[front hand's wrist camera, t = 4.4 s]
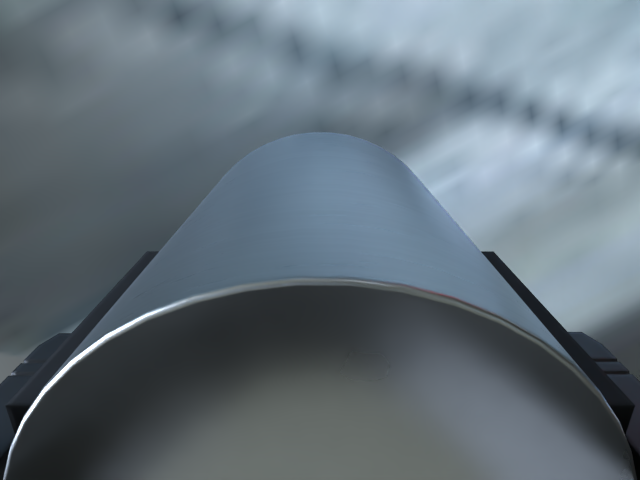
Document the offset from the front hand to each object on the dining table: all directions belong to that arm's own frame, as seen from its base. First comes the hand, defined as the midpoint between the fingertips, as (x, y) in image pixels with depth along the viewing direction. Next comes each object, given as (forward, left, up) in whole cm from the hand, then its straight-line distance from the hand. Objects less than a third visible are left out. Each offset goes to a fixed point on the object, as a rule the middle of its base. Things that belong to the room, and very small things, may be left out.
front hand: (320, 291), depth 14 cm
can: (0, 0, -3) cm, 3 cm away
